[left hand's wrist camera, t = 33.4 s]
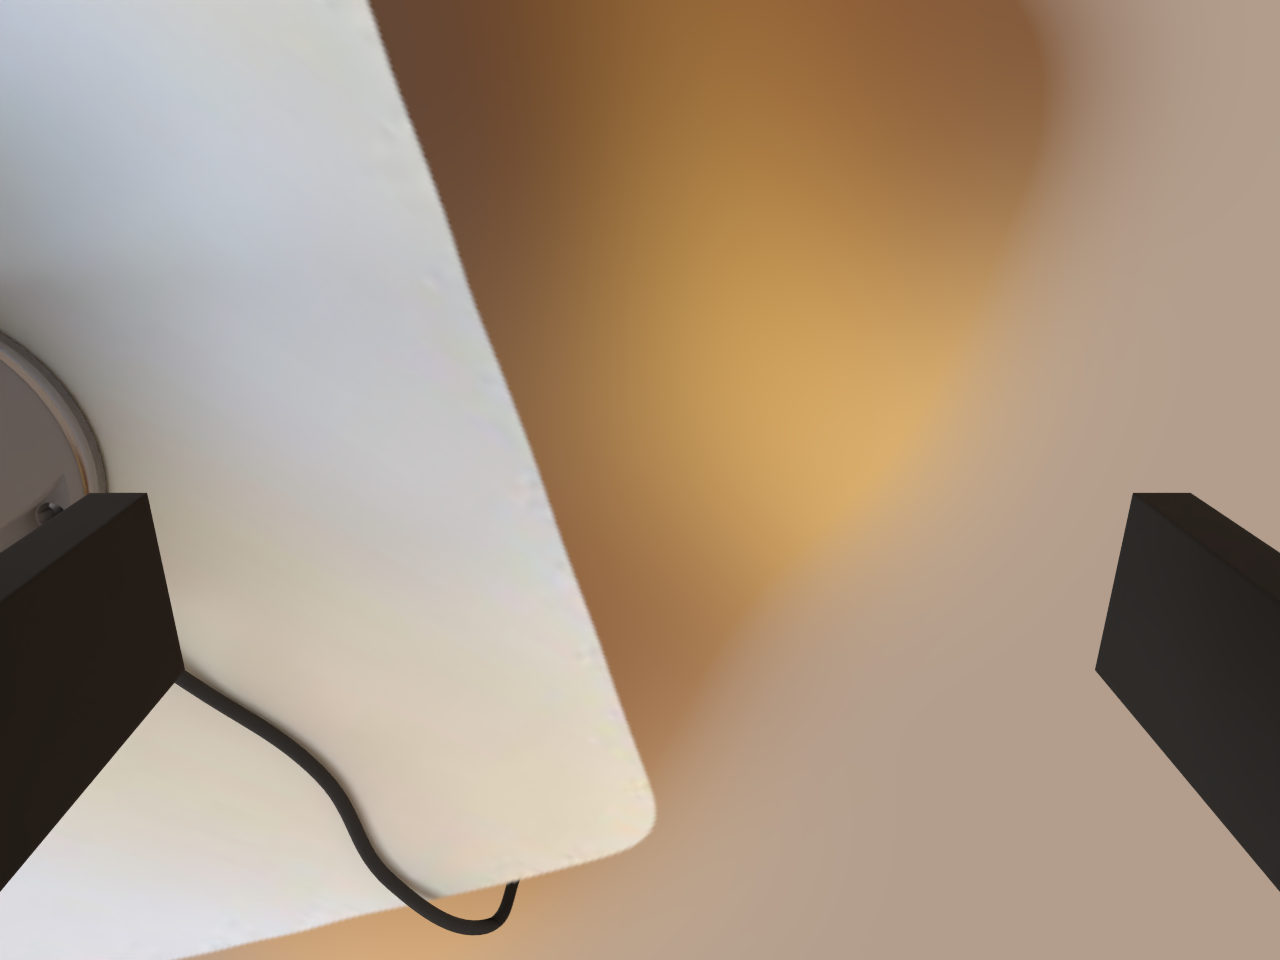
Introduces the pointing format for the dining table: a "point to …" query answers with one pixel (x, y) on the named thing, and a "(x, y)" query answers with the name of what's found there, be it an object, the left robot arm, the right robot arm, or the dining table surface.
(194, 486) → the dining table surface
